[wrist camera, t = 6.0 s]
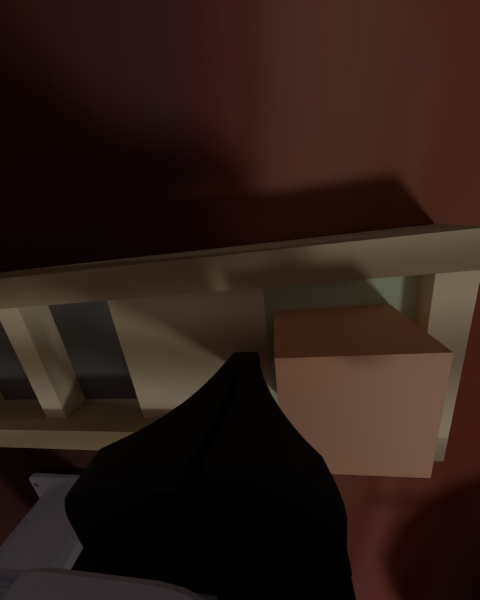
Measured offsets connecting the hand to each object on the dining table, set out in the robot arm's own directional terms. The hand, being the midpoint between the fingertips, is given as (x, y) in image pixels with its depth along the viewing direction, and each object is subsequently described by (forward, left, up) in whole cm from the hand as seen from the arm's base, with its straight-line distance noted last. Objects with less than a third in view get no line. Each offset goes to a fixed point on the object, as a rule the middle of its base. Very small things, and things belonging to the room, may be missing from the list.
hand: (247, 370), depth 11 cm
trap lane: (0, +6, -3) cm, 7 cm away
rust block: (0, -4, -1) cm, 4 cm away
